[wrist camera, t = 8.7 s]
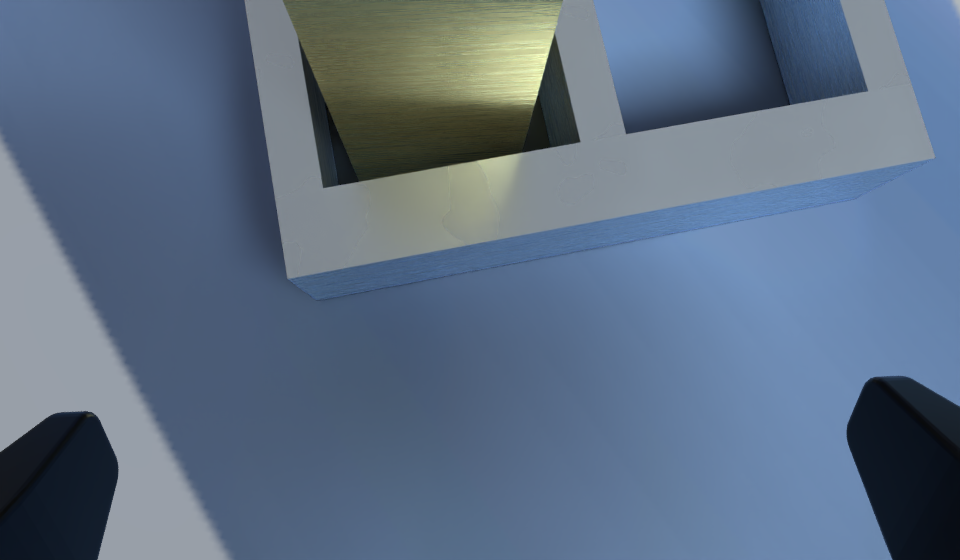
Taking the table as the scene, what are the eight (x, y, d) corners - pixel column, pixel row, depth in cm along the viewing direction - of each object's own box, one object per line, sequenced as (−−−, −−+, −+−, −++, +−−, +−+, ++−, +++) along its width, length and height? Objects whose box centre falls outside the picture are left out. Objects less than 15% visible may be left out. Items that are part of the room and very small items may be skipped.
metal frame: (856, 198, 18) (935, 158, 15) (316, 300, 17) (287, 278, 14) (764, -106, 19) (819, -197, 16) (263, -28, 18) (227, -111, 15)
